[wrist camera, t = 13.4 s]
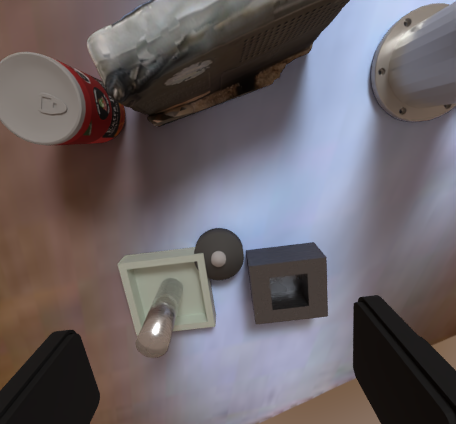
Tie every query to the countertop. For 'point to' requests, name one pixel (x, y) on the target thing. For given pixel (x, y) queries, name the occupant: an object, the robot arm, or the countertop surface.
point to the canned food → (55, 102)
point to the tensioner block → (288, 283)
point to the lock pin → (160, 319)
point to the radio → (203, 51)
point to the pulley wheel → (220, 253)
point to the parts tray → (163, 269)
